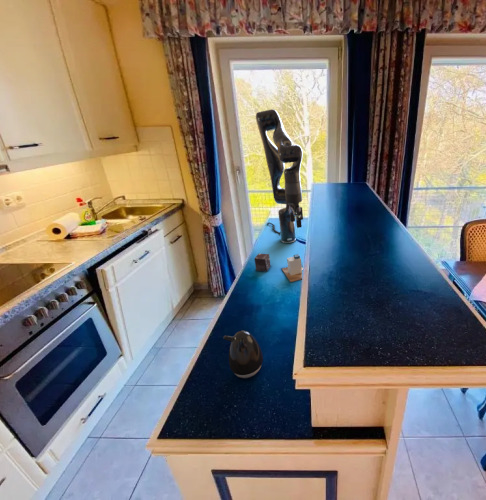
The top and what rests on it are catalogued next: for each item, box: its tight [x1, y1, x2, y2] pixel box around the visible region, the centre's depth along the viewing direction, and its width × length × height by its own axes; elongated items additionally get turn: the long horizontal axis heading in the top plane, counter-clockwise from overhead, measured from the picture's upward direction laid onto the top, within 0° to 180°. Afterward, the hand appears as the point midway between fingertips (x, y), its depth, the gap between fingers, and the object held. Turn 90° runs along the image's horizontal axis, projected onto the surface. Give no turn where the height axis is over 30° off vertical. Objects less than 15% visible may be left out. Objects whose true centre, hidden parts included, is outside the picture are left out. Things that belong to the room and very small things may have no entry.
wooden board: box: [281, 266, 304, 283], centre depth 141 cm, size 14×10×1 cm
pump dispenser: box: [223, 329, 264, 379], centre depth 85 cm, size 10×10×15 cm
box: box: [253, 253, 272, 272], centre depth 144 cm, size 6×6×7 cm
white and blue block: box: [286, 253, 303, 276], centre depth 139 cm, size 6×4×9 cm, turn 114°
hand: (296, 224), depth 135 cm, fingers open, 8 cm apart
